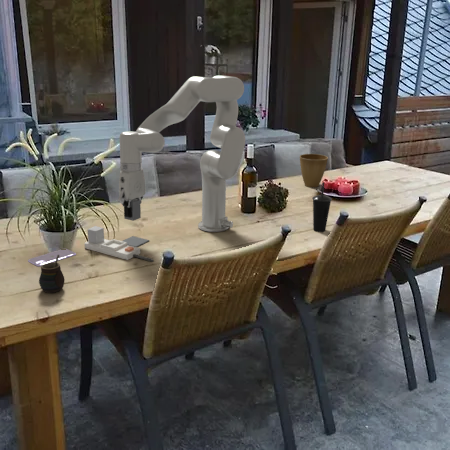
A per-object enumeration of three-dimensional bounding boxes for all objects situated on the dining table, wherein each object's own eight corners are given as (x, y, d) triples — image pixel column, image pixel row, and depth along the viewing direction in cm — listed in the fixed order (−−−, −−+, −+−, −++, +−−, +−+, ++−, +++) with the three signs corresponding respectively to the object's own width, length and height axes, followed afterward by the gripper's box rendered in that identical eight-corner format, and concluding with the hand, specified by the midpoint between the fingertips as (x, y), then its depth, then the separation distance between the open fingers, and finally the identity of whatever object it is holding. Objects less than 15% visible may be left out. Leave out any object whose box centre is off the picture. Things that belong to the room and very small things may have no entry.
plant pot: (294, 182, 285) (296, 153, 280) (320, 182, 287) (323, 153, 282) (301, 189, 271) (303, 159, 266) (328, 189, 273) (331, 159, 268)
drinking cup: (330, 228, 214) (334, 181, 207) (327, 234, 207) (331, 186, 200) (311, 226, 216) (315, 179, 209) (308, 231, 209) (312, 184, 202)
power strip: (159, 258, 180) (159, 239, 177) (146, 265, 174) (146, 246, 172) (98, 242, 193) (97, 224, 191) (84, 248, 187) (83, 230, 185)
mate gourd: (34, 293, 153) (31, 262, 150) (48, 283, 160) (45, 253, 157) (57, 296, 151) (54, 264, 148) (69, 285, 158) (67, 255, 155)
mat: (149, 241, 195) (149, 240, 195) (135, 247, 189) (135, 246, 189) (132, 236, 199) (132, 236, 199) (118, 243, 193) (118, 242, 192)
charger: (140, 217, 191) (140, 198, 189) (133, 220, 188) (132, 201, 186) (131, 215, 193) (131, 197, 191) (124, 218, 190) (123, 199, 188)
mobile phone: (77, 252, 181) (38, 265, 171) (77, 255, 182) (38, 268, 171) (65, 247, 186) (26, 259, 175) (65, 249, 186) (26, 261, 176)
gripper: (123, 172, 176) (125, 223, 182) (154, 164, 190) (154, 211, 196) (107, 169, 179) (109, 219, 185) (138, 161, 193) (139, 208, 199)
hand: (132, 214), depth 190 cm, fingers closed on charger, 4 cm apart
